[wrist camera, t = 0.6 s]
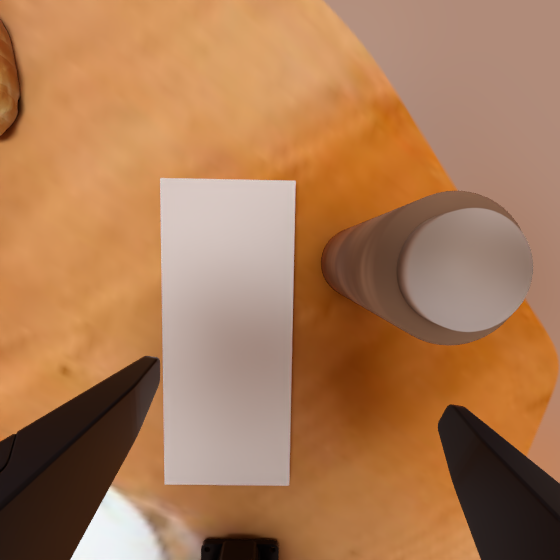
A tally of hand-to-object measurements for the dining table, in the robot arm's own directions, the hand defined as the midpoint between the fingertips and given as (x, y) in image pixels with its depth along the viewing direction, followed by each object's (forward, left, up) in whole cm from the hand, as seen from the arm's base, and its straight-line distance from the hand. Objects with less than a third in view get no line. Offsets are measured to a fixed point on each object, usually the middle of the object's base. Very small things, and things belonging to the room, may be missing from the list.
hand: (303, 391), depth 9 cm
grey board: (-2, +5, -15) cm, 15 cm away
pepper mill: (+4, -5, -15) cm, 16 cm away
